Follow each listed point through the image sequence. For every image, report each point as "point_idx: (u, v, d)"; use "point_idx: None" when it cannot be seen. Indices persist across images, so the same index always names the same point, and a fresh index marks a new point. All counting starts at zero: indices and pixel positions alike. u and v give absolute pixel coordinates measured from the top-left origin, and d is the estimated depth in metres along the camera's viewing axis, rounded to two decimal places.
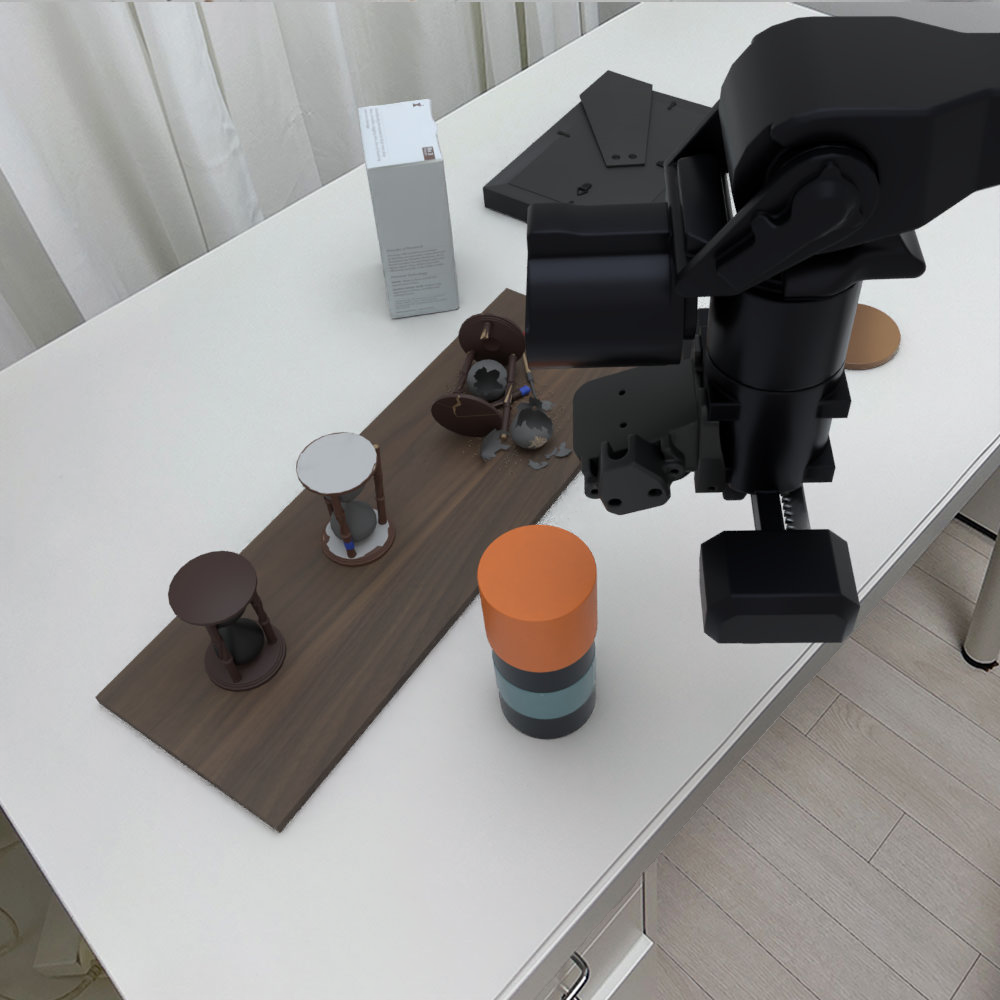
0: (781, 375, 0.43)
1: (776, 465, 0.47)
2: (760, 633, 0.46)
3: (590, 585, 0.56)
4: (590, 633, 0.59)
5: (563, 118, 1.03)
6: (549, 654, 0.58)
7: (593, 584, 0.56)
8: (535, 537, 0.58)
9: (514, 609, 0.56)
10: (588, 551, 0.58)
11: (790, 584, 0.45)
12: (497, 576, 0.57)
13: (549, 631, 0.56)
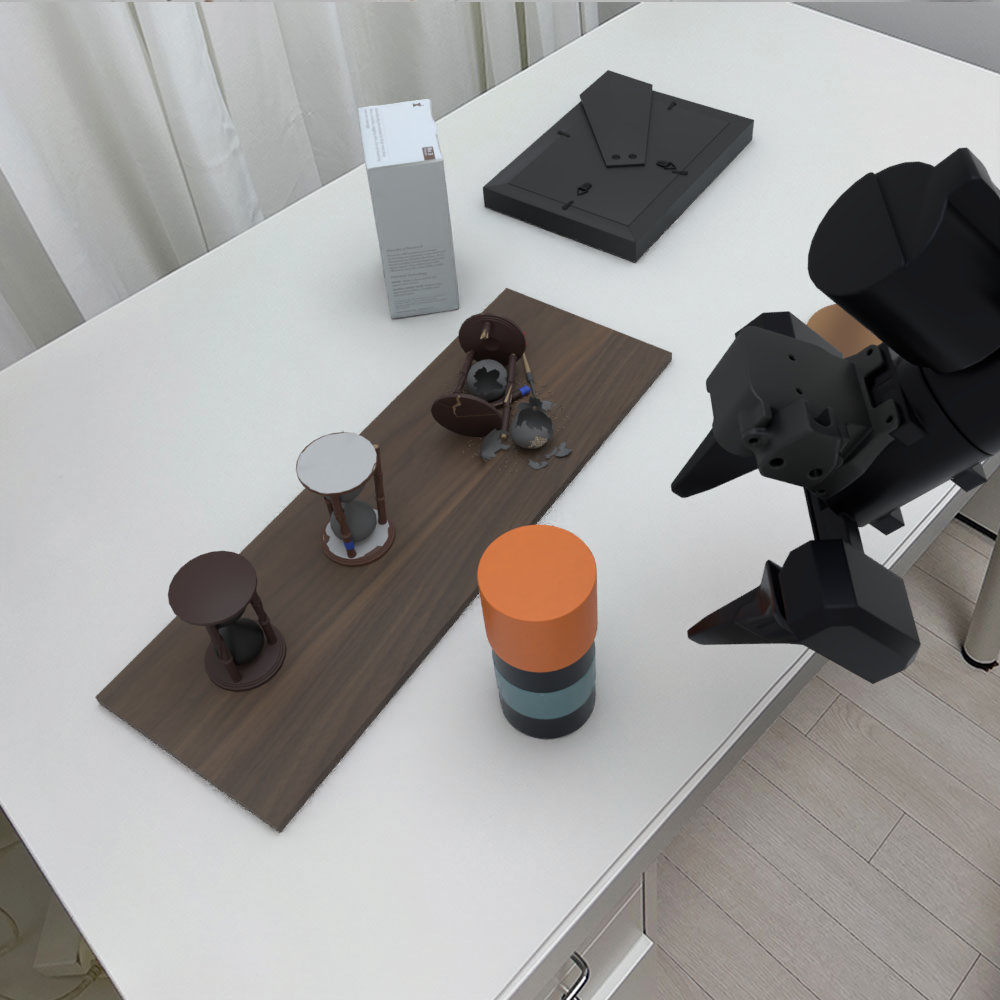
0: (992, 432, 0.44)
1: (885, 500, 0.48)
2: (838, 649, 0.45)
3: (590, 585, 0.56)
4: (590, 633, 0.59)
5: (563, 118, 1.03)
6: (549, 654, 0.58)
7: (593, 584, 0.56)
8: (535, 537, 0.58)
9: (514, 609, 0.56)
10: (588, 551, 0.58)
11: (890, 617, 0.45)
12: (497, 576, 0.57)
13: (549, 631, 0.56)
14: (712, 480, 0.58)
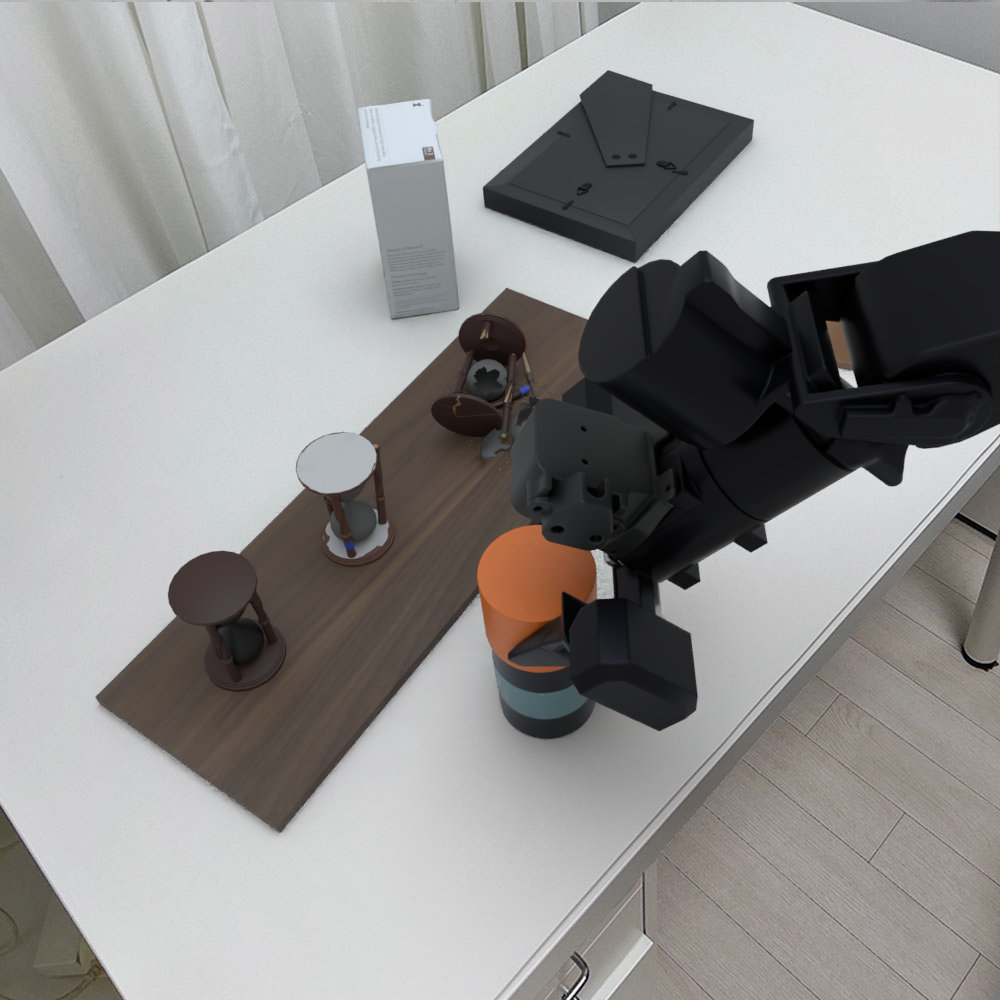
0: (759, 502, 0.48)
1: (675, 560, 0.51)
2: (619, 701, 0.49)
3: (590, 585, 0.56)
4: None
5: (563, 118, 1.03)
6: None
7: (593, 584, 0.56)
8: (535, 537, 0.58)
9: (514, 609, 0.56)
10: (588, 551, 0.58)
11: (667, 671, 0.49)
12: (497, 576, 0.57)
13: None
14: None
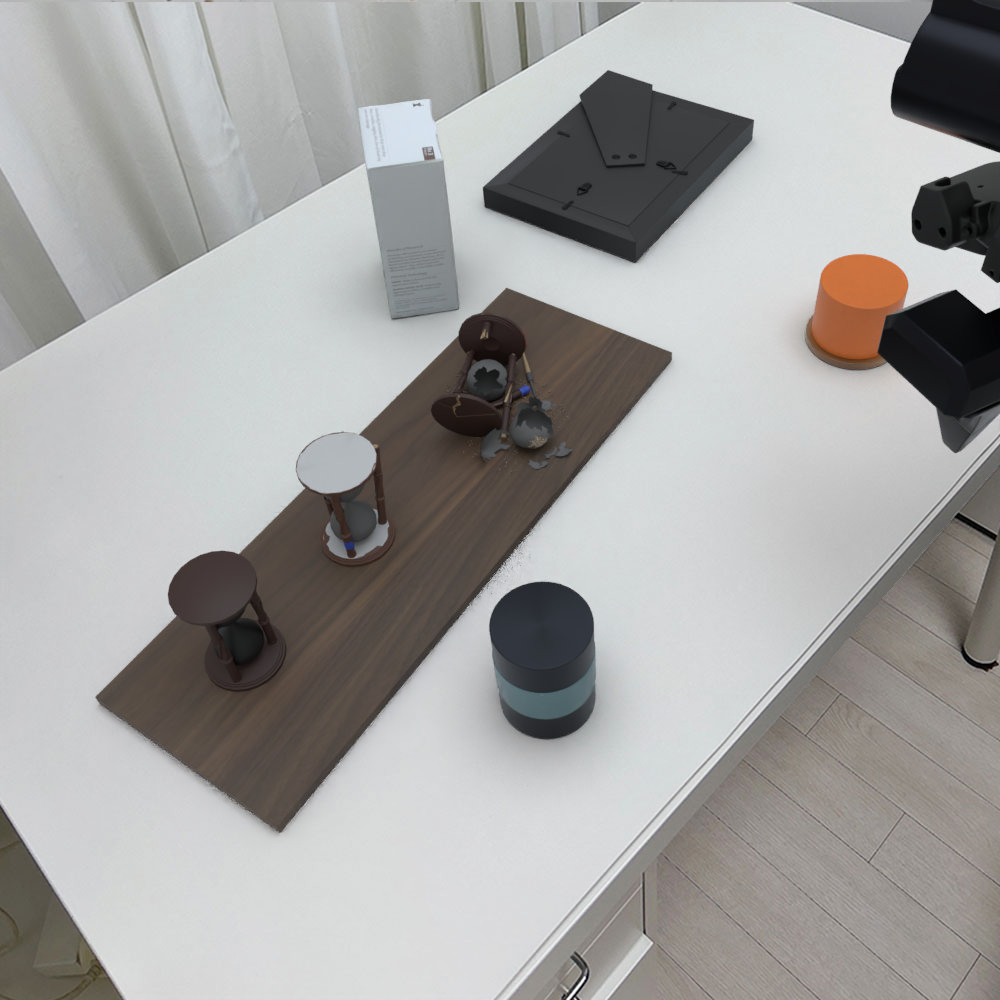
0: None
1: None
2: (901, 361, 0.55)
3: (876, 306, 0.79)
4: (860, 345, 0.81)
5: (563, 118, 1.03)
6: (826, 332, 0.82)
7: (878, 307, 0.79)
8: (888, 270, 0.81)
9: (828, 282, 0.81)
10: (901, 296, 0.79)
11: (943, 337, 0.53)
12: (844, 266, 0.82)
13: (832, 310, 0.80)
14: None
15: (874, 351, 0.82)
